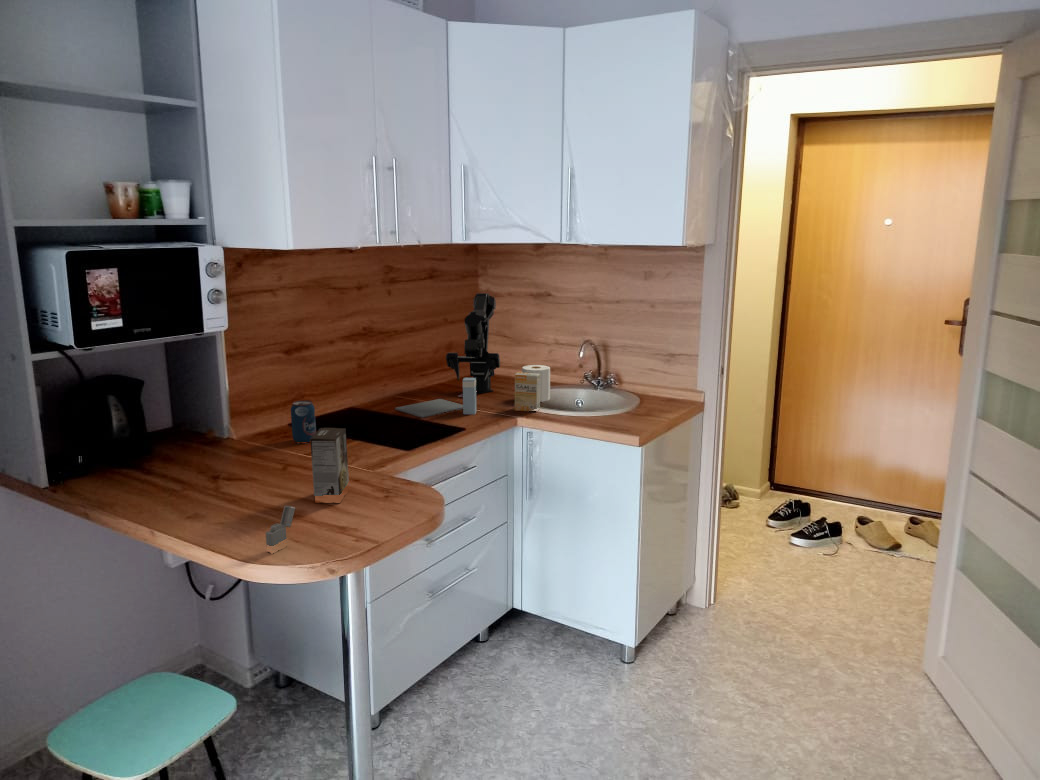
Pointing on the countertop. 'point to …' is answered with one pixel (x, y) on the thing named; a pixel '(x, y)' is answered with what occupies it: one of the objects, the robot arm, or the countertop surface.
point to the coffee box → (329, 461)
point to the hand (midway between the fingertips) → (471, 380)
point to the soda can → (303, 420)
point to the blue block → (469, 395)
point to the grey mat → (430, 408)
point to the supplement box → (527, 391)
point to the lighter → (280, 527)
